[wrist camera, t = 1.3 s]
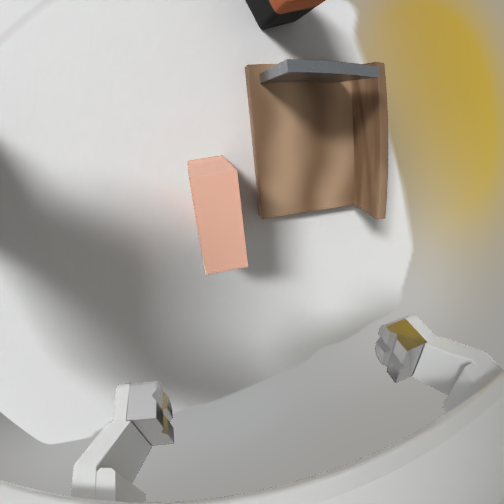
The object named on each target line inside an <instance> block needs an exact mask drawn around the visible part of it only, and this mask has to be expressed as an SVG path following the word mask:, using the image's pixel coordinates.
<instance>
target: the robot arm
mask: <svg viewBox="0 0 504 504" xmlns="http://www.w3.org/2000/svg"><path fill="white" fill-rule="evenodd" d="M378 334H379V335H380V336H381V337H380V338H379V339H378V341H377V342H376V347H375V350H376V355H377V357H378V360H379V361H380V363H381V364H383V365H385V366H387V372H388V374H389V375H390V377H391V378H392V379H393V381H394V382H395V383H397V382H399V381H401V380H404V379H406V378H408V377H411V376H413V377H414V378H416V379H418V380H420V381H421V382H423V383H425V384H427V385H429V386H431V387H433V388H435V389H437V390H438V391H440V392H442V393H444V394H446V395H448V397H447V399H446V400H445V402H444V403H443V408H444V410H445V411H446V414H444V415H443V416H441V417H440V418H438V419H437V420H435V421H433V422H431V423H430V424H428V425H427V426H425V427H423V428H421V429H419V430H418V431H416V432H414V433H412V434H410V435H409V436H407V437H405V438H403V439H401V440H399V441H397V442H395V443H393V444H391V445H389V446H387V447H385V448H383V449H381V450H379V451H377V452H374V453H372V454H370V455H367V456H365V457H363V458H360V459H358V460H356V461H353V462H351V463H348V464H345V465H343V466H340V467H338V468H335V469H332V470H329V471H326V472H323V473H321V474H317V475H314V476H311V477H308V478H305V479H301V480H298V481H295V482H291V483H287V484H283V485H280V486H276V487H271V488H267V489H263V490H258V491H254V492H249V493H243V494H237V495H231V496H224V497H218V498H210V499H200V500H190V501H176V502H146V494H145V493H144V492H143V491H141V490H140V489H138V488H137V487H136V486H134V485H133V484H132V483H133V481H134V479H135V477H136V476H137V474H138V472H139V470H140V468H141V467H142V465H143V463H144V461H145V459H146V457H147V456H148V454H149V452H150V450H151V448H152V446H156V445H165V444H174V432H173V427H172V425H171V424H170V420H171V419H172V418H173V417H172V408H171V403H170V400H169V398H168V396H167V394H166V393H164V392H163V386H162V384H161V383H160V381H158V380H157V381H148V382H136V383H126V384H118V386H117V388H116V394H115V402H114V410H113V420H112V422H108V423H107V425H106V426H105V427H104V428H103V429H102V431H101V432H100V433H99V434H98V436H97V437H96V438H95V439H94V441H93V442H92V443H91V444H90V446H89V447H88V448H87V449H86V451H85V452H84V453H83V455H81V457H80V458H79V459H78V460H77V462H76V463H75V464H74V469H73V479H72V491H71V496H64V495H59V494H54V493H48V492H44V491H39V490H35V489H31V488H27V487H23V486H20V485H16V484H13V483H10V482H6V481H3V480H0V504H504V371H503V369H502V368H501V367H500V366H499V365H498V364H497V363H496V362H495V361H494V360H493V359H492V358H491V357H490V356H489V355H488V354H487V353H486V352H484V351H481V350H478V349H476V348H473V347H469V346H467V345H463V344H461V343H458V342H455V341H452V340H449V339H446V338H443V337H438V338H437V337H436V336H435V335H434V334H433V332H431V330H430V329H429V328H428V327H427V326H426V325H425V324H424V323H423V322H422V321H421V320H420V319H419V318H418V317H417V316H416V315H413V314H411V315H409V316H406V317H404V318H401V319H398V320H396V321H393V322H390V323H388V324H385V325H382V326H381V327H380V329H379V333H378Z"/></svg>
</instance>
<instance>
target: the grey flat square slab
mask: <svg viewBox="0 0 504 504" xmlns="http://www.w3.org/2000/svg"><path fill="white" fill-rule="evenodd" d="M259 77H260V83H281V82H320V83H338V82H345V81H353V80H362V79H371V78H380V77H379V67H378V66H371V65H364V64H355V63H346V62H335V61H320V60H292V59H287V60H285V61H283V62H281V63H279V64H277V65H275V66H273V67H271V68H269V69H267V70H265V71H263V72H262V73H260V74H259Z"/></svg>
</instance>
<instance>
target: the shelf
mask: <svg viewBox="0 0 504 504" xmlns="http://www.w3.org/2000/svg"><path fill="white" fill-rule="evenodd" d="M275 65H277V64H256V65H247V66H246V67H245V74H246V84H247V93H248V103H249V113H250V123H251V133H252V143H253V154H254V164H255V175H256V185H257V196H258V207H259V215H260V216H261V217H262V219H265V218H271V217H277V216H283V215H290V214H296V213H302V212H309V211H315V210H322V209H329V208H336V207H342V206H349V205H355V206H356V207H358V208H360V209H361V210H363V211H365V212H366V213H368V214H369V215H371V216H373V217H374V218H376V219H377V220H378V219H384V218H385V214H386V199H387V179H388V112H387V92H386V79H385V67H384V63H380V62H372V63H367V64H364V65H371V66H378V67H379V77H380V78H371V79H362V80H353V81H345V82H338V83H320V82H281V83H260V77H259V74H260V73H262V72H263V71H265V70H267V69H269V68H271V67H273V66H275Z"/></svg>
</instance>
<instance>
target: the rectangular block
mask: <svg viewBox="0 0 504 504" xmlns="http://www.w3.org/2000/svg"><path fill="white" fill-rule="evenodd" d="M188 172H189V181H190V187H191V193H192V199H193V205H194V211H195V217H196V223H197V228H198V234H199V239H200V245H201V250H202V257H203V263H204V269H205V274H206V275H209V274H214V273H219V272H224V271H230V270H235V269H240V268H245V267H248V260H247V252H246V244H245V235H244V226H243V217H242V209H241V200H240V191H239V182H238V173H237V170H236V169H235V168H234V167H233V166H232V165H231V164H230V163H229V162H228V161H227V160H226V159H225V158H224V157H223V156H222V155H221V156H214V157H208V158H202V159H196V160H190V161H188Z"/></svg>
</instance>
